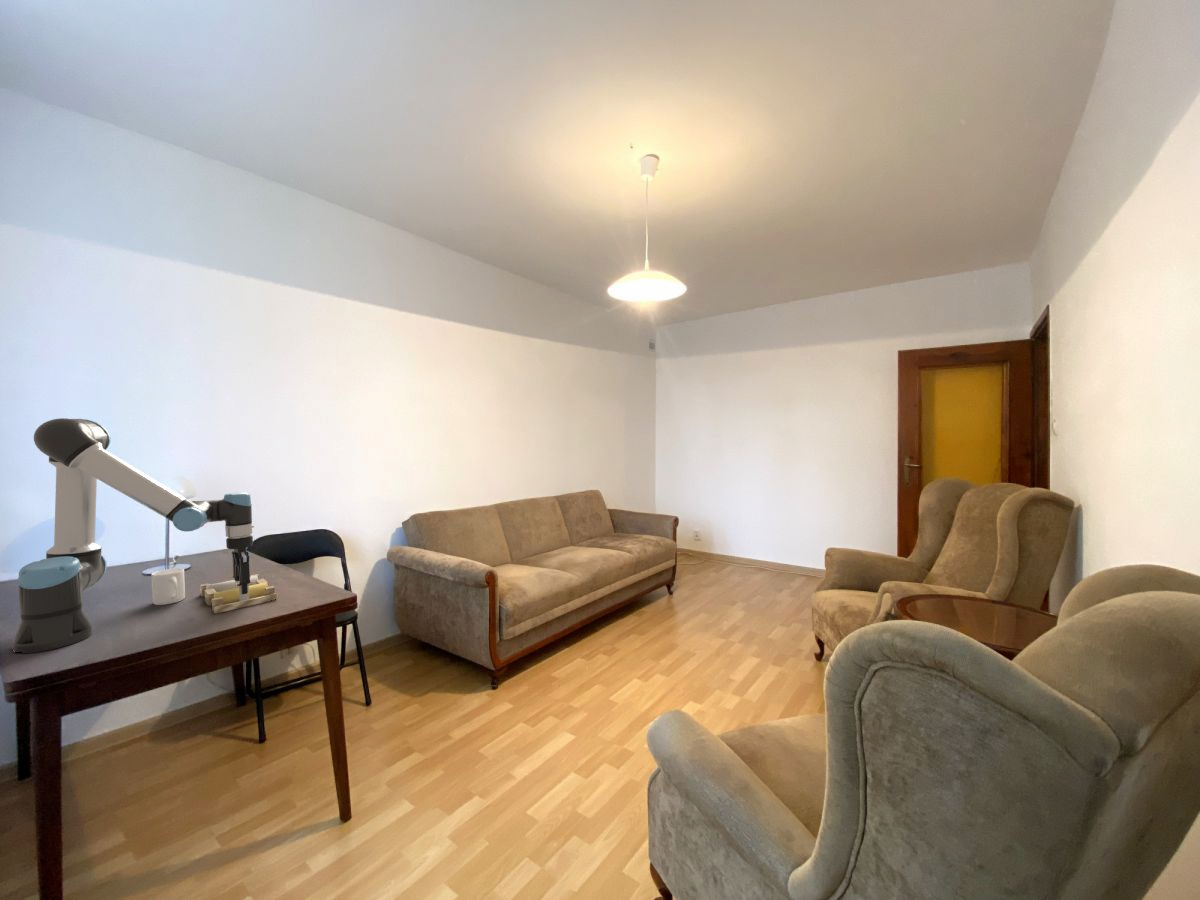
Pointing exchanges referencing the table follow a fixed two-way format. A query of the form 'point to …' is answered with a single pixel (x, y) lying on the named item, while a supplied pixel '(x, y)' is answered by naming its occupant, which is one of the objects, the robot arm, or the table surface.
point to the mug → (168, 586)
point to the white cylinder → (229, 585)
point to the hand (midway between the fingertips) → (242, 600)
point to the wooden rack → (219, 607)
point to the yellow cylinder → (233, 594)
